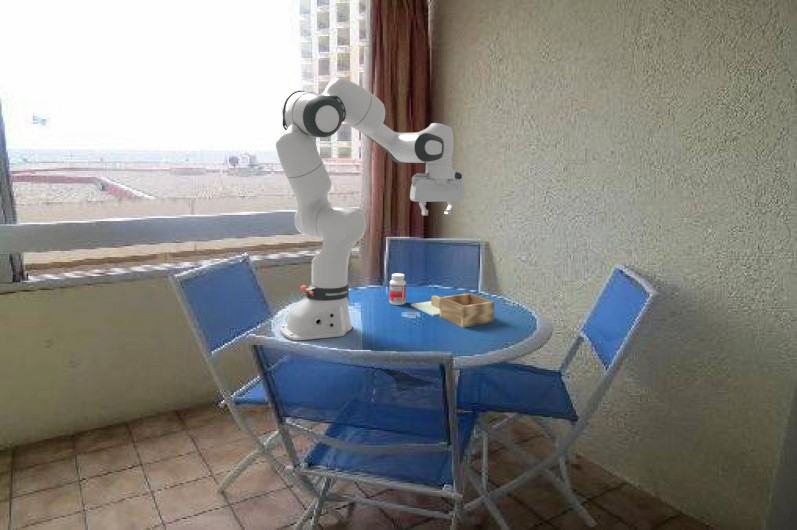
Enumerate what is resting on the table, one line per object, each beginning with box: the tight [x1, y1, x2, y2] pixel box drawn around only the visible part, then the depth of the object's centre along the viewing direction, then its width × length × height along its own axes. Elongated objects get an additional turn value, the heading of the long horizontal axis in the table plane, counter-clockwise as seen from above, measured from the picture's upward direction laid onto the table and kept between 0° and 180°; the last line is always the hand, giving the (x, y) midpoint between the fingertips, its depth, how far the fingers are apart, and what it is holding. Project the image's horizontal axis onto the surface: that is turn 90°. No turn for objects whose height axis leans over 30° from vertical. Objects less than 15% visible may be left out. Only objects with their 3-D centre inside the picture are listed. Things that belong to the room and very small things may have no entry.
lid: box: [410, 295, 441, 317], centre depth 187 cm, size 14×14×5 cm
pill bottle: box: [388, 272, 407, 306], centre depth 191 cm, size 6×6×11 cm
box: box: [439, 292, 495, 329], centre depth 174 cm, size 13×13×7 cm
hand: (436, 215), depth 174 cm, fingers open, 8 cm apart
